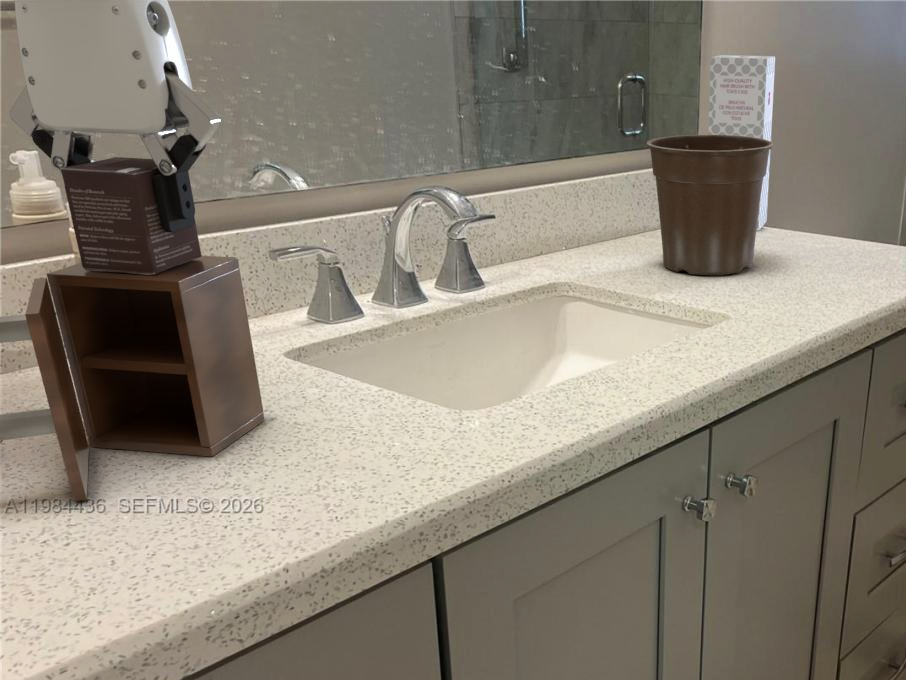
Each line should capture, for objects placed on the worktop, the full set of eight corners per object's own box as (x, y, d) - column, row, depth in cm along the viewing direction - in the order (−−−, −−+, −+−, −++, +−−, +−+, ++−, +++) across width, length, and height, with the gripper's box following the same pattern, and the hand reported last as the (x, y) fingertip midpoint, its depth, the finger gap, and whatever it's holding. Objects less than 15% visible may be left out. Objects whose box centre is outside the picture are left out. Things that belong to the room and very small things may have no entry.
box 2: (705, 227, 165) (710, 57, 155) (716, 218, 173) (721, 54, 162) (758, 230, 164) (766, 58, 153) (766, 221, 171) (775, 56, 160)
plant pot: (668, 284, 132) (670, 150, 125) (631, 256, 145) (631, 135, 138) (785, 276, 136) (793, 147, 129) (739, 250, 150) (744, 133, 143)
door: (-31, 518, 70) (-92, 324, 64) (-16, 462, 78) (-69, 286, 72) (87, 499, 72) (39, 312, 67) (88, 447, 81) (46, 277, 75)
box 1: (135, 254, 81) (115, 156, 78) (204, 258, 80) (187, 159, 77) (81, 271, 76) (56, 167, 73) (154, 276, 75) (132, 171, 72)
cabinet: (212, 457, 80) (178, 281, 74) (89, 447, 81) (46, 273, 75) (265, 420, 87) (238, 257, 81) (151, 411, 88) (116, 250, 82)
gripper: (231, -44, 71) (271, 223, 79) (4, -47, 74) (65, 212, 81) (166, -49, 65) (217, 242, 72) (-81, -52, 67) (-6, 231, 75)
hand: (136, 224), depth 77 cm, fingers closed on box 1, 6 cm apart
